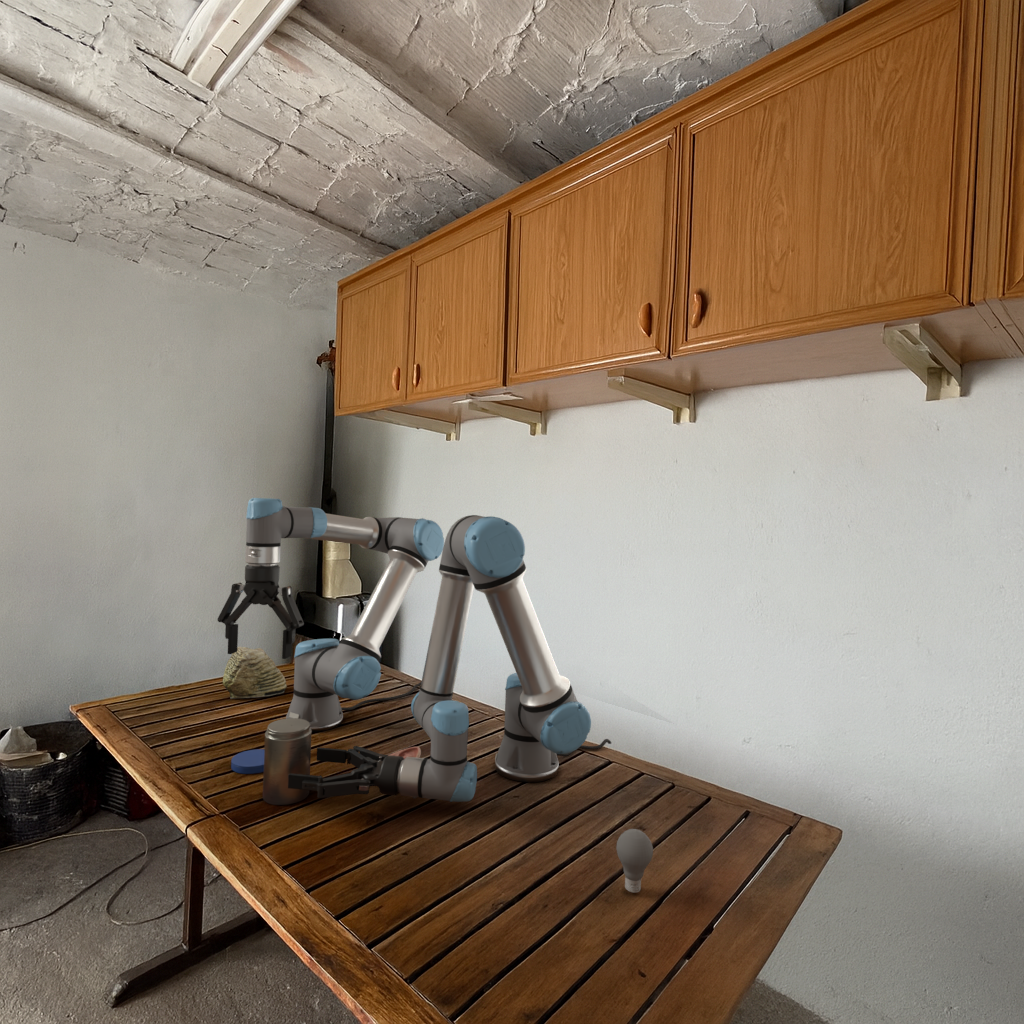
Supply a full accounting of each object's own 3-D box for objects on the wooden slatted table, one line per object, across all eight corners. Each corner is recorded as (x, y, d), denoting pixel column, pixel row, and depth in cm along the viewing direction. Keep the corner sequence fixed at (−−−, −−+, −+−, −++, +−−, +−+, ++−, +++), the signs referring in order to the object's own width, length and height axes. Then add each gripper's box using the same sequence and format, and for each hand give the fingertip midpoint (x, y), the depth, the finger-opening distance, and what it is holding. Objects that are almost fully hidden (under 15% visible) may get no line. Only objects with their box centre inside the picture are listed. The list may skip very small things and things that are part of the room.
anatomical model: (354, 757, 144) (374, 739, 156) (353, 774, 145) (374, 755, 156) (409, 764, 142) (426, 745, 153) (408, 782, 142) (425, 762, 153)
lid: (282, 756, 153) (283, 749, 153) (268, 774, 143) (268, 767, 143) (241, 755, 153) (241, 748, 153) (223, 773, 143) (224, 765, 143)
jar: (259, 806, 129) (261, 734, 128) (266, 786, 138) (268, 718, 137) (307, 803, 131) (309, 732, 130) (311, 783, 140) (313, 716, 139)
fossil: (218, 695, 195) (220, 647, 195) (278, 685, 208) (279, 640, 207) (228, 703, 189) (230, 653, 188) (289, 692, 201) (290, 645, 201)
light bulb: (610, 879, 108) (613, 822, 108) (644, 879, 109) (647, 822, 109) (619, 902, 102) (622, 840, 102) (655, 901, 103) (658, 840, 103)
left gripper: (203, 562, 145) (200, 654, 146) (305, 569, 142) (301, 663, 142) (223, 559, 153) (219, 647, 153) (320, 565, 149) (317, 655, 149)
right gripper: (382, 824, 119) (274, 812, 121) (416, 768, 144) (327, 760, 146) (383, 784, 119) (276, 774, 121) (418, 736, 144) (328, 728, 146)
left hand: (259, 655), depth 148 cm, fingers open, 13 cm apart
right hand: (303, 766), depth 134 cm, fingers open, 13 cm apart
